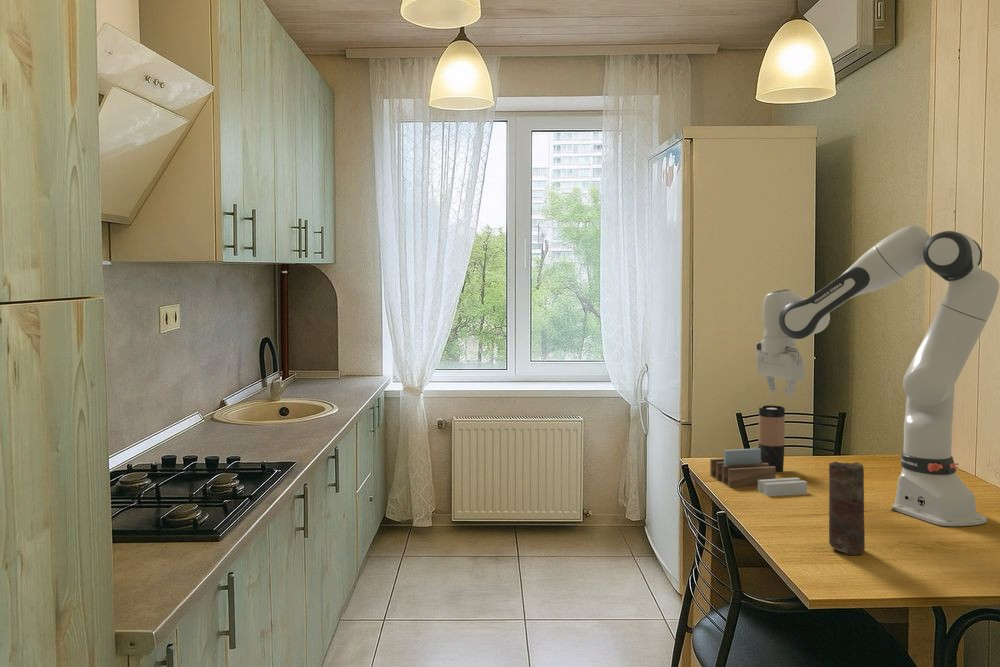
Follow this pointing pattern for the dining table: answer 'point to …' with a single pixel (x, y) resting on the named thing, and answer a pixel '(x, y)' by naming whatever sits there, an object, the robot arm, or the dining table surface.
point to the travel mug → (772, 435)
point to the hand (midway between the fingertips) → (780, 393)
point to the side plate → (742, 456)
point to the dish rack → (741, 473)
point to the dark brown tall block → (846, 507)
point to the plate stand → (782, 486)
